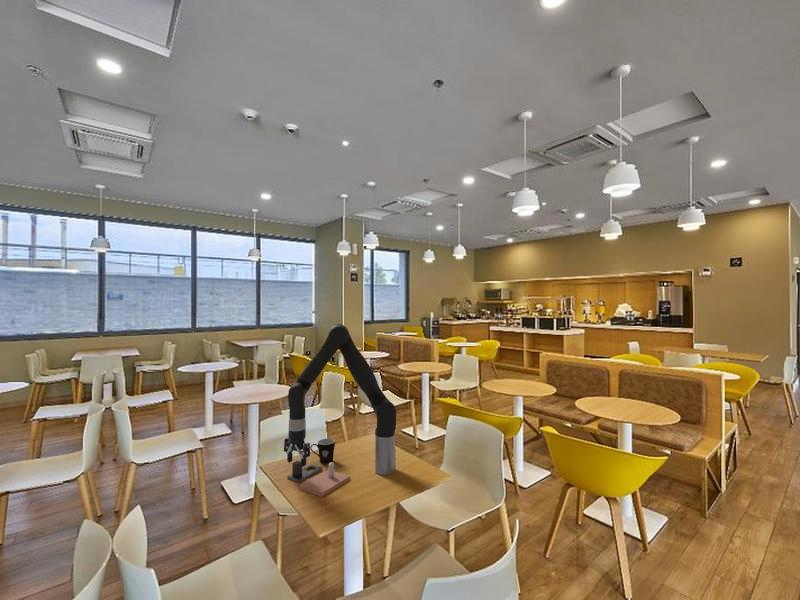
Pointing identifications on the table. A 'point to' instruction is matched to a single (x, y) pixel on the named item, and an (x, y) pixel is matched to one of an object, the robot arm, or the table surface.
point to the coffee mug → (325, 450)
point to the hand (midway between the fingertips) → (296, 463)
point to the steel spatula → (302, 471)
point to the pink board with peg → (324, 482)
